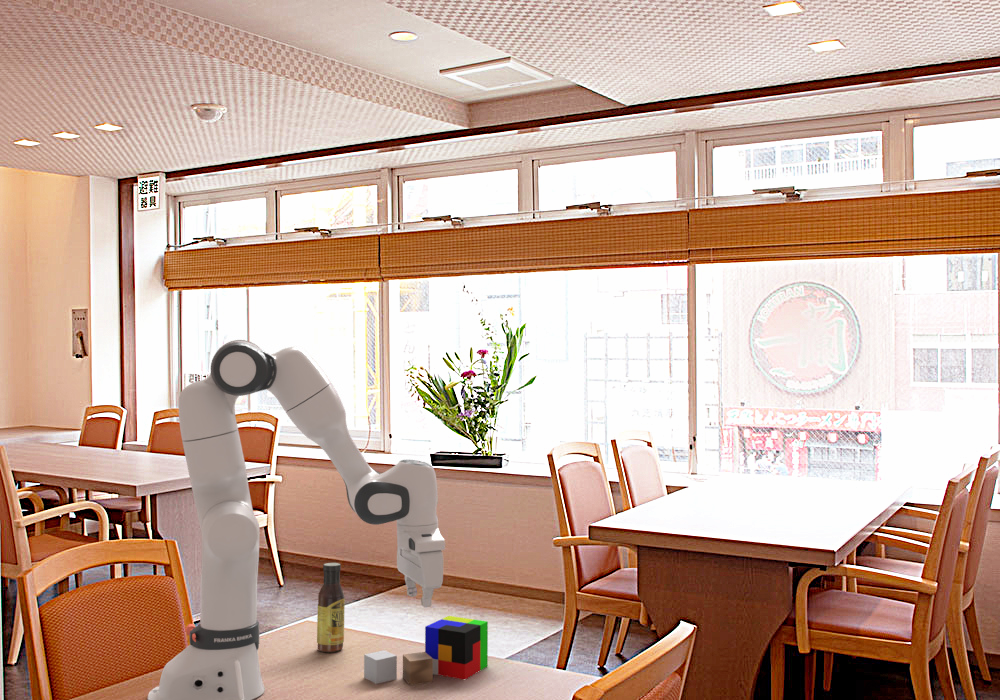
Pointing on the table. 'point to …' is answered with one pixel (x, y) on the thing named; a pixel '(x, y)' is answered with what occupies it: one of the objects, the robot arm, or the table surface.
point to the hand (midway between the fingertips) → (419, 601)
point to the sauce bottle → (330, 610)
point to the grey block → (380, 666)
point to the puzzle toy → (457, 646)
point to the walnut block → (417, 668)
